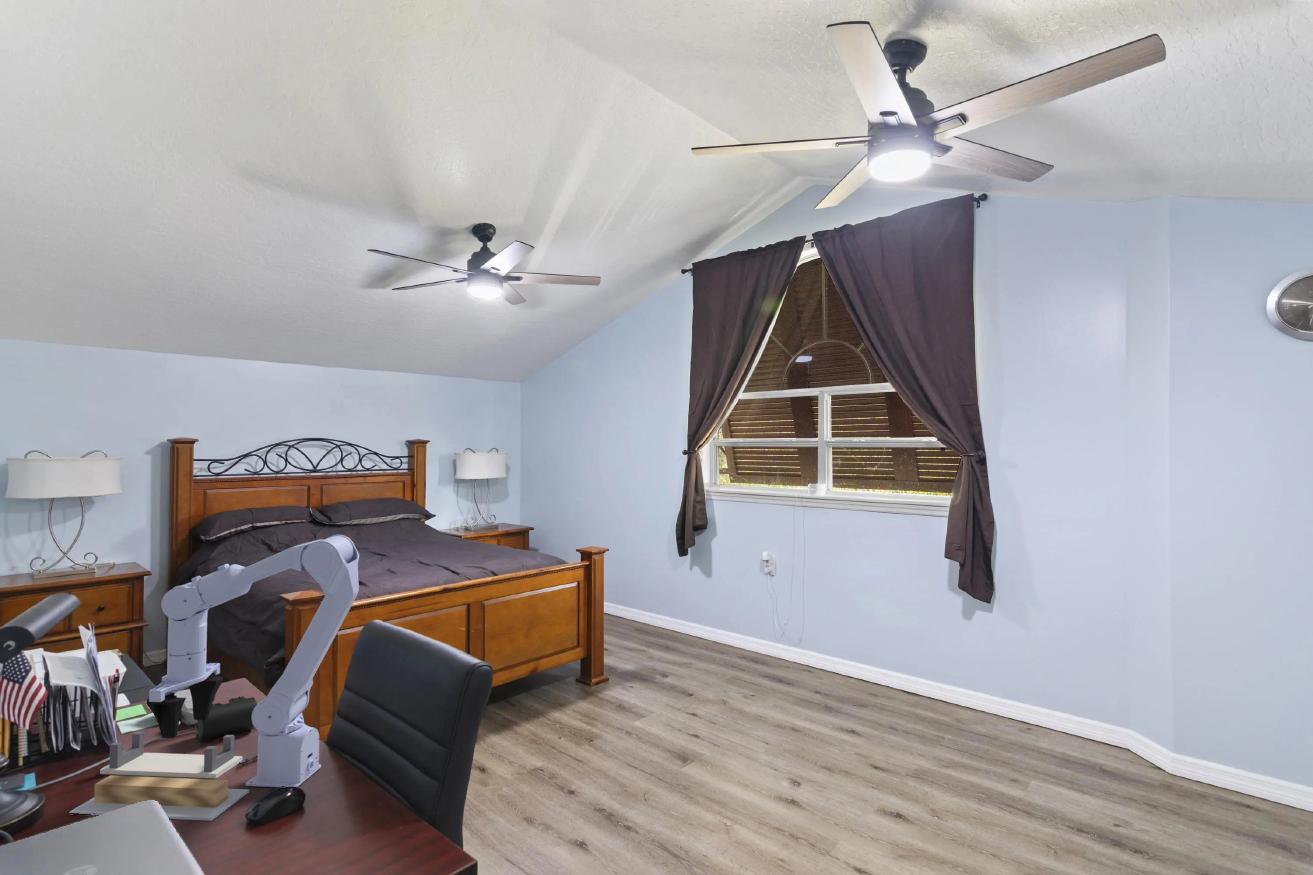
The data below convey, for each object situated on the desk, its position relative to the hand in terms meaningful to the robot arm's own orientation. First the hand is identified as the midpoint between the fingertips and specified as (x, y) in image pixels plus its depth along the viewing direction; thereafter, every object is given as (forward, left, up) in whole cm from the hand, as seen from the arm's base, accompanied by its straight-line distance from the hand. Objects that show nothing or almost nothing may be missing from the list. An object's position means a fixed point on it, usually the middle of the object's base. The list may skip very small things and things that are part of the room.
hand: (185, 727), depth 119 cm
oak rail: (-2, +7, -9) cm, 12 cm away
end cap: (+6, -19, -10) cm, 22 cm away
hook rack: (+6, -5, -9) cm, 12 cm away
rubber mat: (-2, +7, -9) cm, 12 cm away
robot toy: (+20, -27, -10) cm, 35 cm away
